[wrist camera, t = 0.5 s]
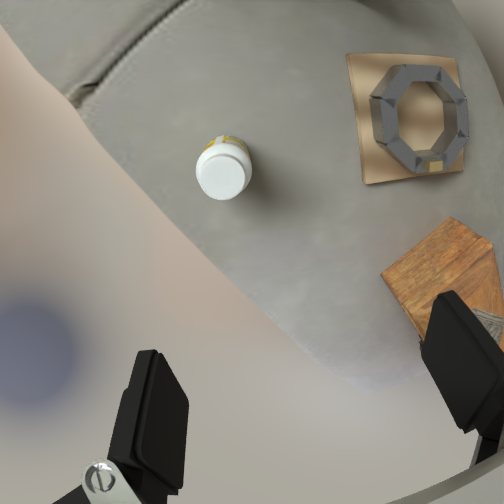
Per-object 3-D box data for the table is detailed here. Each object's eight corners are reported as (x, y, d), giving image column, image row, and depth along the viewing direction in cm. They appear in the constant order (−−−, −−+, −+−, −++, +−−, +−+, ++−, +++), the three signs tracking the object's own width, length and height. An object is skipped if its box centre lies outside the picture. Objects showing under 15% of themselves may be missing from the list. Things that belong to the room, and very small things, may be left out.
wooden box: (373, 275, 44) (412, 338, 32) (453, 211, 39) (512, 255, 27) (426, 360, 56) (452, 408, 43) (484, 314, 51) (518, 357, 39)
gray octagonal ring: (363, 65, 29) (378, 63, 25) (449, 68, 28) (468, 68, 24) (376, 170, 35) (390, 180, 31) (455, 161, 34) (473, 169, 31)
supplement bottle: (244, 130, 33) (247, 142, 25) (253, 174, 36) (259, 200, 27) (197, 140, 33) (185, 156, 25) (208, 183, 36) (200, 213, 27)
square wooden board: (345, 55, 29) (349, 53, 28) (450, 58, 28) (455, 58, 27) (362, 181, 37) (366, 184, 36) (458, 168, 36) (463, 170, 35)
